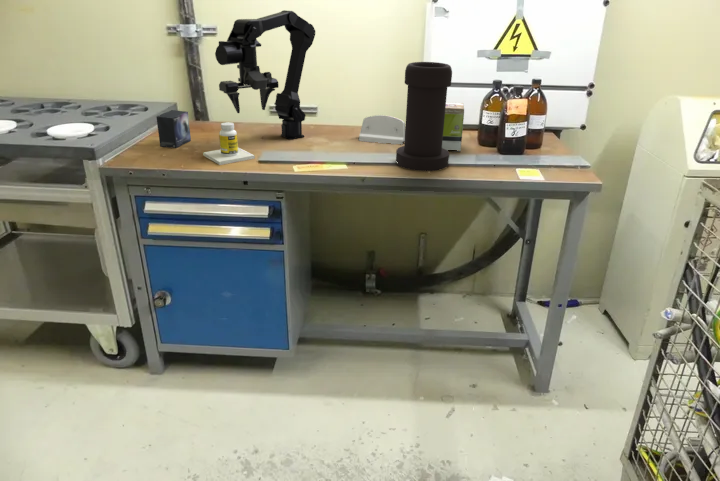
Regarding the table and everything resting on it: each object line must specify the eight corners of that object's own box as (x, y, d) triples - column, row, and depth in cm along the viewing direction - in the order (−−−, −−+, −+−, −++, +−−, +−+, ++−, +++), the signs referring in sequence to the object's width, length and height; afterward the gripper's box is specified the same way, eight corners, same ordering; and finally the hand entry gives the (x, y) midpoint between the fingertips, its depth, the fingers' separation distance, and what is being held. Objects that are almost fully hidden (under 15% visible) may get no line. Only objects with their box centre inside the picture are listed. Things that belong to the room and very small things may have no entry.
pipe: (448, 157, 175) (457, 62, 162) (447, 173, 161) (457, 69, 148) (398, 153, 178) (403, 59, 165) (393, 169, 163) (398, 67, 150)
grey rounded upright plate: (357, 140, 191) (360, 112, 190) (360, 142, 196) (363, 114, 195) (403, 145, 188) (406, 116, 186) (405, 146, 192) (408, 118, 191)
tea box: (460, 144, 190) (464, 102, 184) (460, 152, 181) (465, 108, 175) (417, 142, 192) (420, 100, 185) (416, 149, 183) (419, 106, 176)
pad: (237, 149, 178) (237, 146, 178) (254, 158, 170) (254, 155, 169) (203, 155, 171) (203, 152, 171) (219, 164, 163) (219, 161, 163)
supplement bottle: (229, 157, 167) (227, 126, 162) (217, 154, 169) (214, 124, 165) (242, 153, 171) (239, 123, 167) (229, 150, 173) (226, 120, 169)
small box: (177, 149, 178) (173, 117, 173) (159, 147, 179) (154, 116, 174) (192, 140, 187) (188, 110, 182) (175, 139, 188) (171, 109, 184)
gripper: (232, 67, 159) (236, 119, 165) (286, 63, 169) (288, 112, 176) (216, 63, 166) (220, 113, 173) (268, 59, 177) (271, 106, 184)
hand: (251, 111), depth 176 cm, fingers open, 9 cm apart
